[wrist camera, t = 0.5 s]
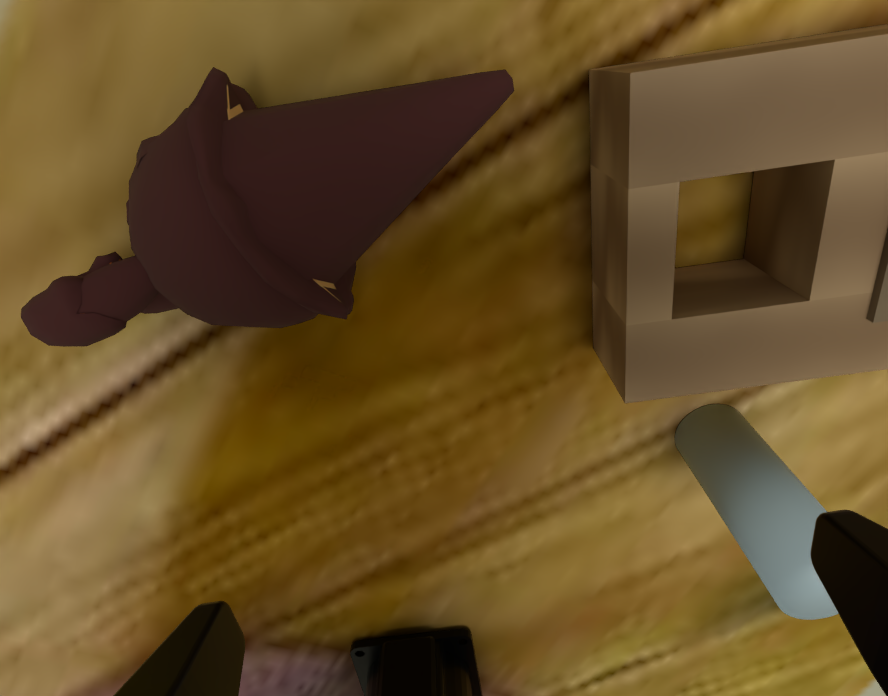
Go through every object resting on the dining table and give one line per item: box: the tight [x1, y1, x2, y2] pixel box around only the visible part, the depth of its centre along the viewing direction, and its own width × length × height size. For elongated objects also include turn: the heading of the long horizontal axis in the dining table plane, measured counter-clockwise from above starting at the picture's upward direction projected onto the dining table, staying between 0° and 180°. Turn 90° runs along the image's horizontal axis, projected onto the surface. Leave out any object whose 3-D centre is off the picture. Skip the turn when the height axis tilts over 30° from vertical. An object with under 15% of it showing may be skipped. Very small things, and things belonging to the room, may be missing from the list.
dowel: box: [675, 404, 839, 619], centre depth 21 cm, size 3×3×8 cm
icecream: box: [21, 67, 514, 346], centre depth 16 cm, size 7×7×15 cm
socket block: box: [589, 24, 888, 403], centre depth 18 cm, size 10×14×4 cm
